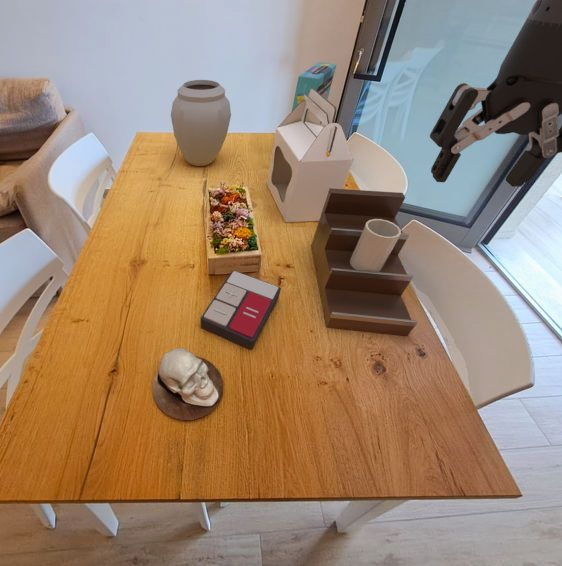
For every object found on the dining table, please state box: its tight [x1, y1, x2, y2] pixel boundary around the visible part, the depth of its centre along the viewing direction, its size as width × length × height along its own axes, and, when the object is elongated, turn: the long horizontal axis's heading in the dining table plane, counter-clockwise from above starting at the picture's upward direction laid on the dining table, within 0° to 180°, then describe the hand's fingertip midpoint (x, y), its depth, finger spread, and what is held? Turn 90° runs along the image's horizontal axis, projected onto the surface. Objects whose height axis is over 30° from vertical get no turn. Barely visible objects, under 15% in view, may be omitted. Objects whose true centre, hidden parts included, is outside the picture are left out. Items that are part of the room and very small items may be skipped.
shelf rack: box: [310, 188, 418, 337], centre depth 68 cm, size 26×15×16 cm, turn 171°
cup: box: [350, 219, 402, 272], centre depth 65 cm, size 6×6×9 cm
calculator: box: [200, 270, 282, 351], centre depth 67 cm, size 11×4×15 cm
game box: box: [291, 61, 337, 125], centre depth 111 cm, size 20×6×27 cm, turn 148°
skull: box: [151, 347, 224, 421], centre depth 55 cm, size 12×10×10 cm
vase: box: [170, 79, 232, 167], centre depth 110 cm, size 20×20×24 cm
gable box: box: [266, 89, 355, 223], centre depth 89 cm, size 22×13×28 cm, turn 4°
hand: (474, 181), depth 41 cm, fingers open, 8 cm apart
